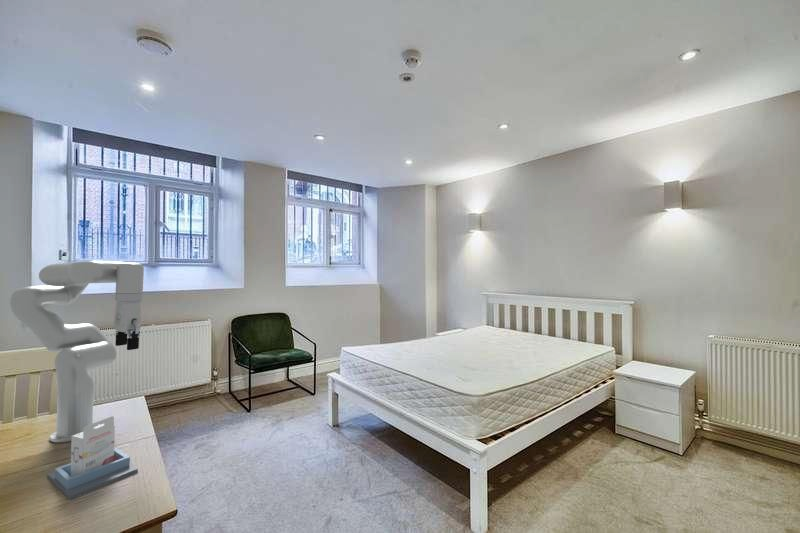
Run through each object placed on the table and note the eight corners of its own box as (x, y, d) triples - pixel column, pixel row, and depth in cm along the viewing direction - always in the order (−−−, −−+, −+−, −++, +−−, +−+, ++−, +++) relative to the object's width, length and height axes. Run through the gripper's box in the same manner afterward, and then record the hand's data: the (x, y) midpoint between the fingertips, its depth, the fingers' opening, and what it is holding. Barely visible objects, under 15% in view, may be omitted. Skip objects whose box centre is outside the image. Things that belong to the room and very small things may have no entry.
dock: (47, 477, 99) (47, 465, 99) (111, 454, 112) (112, 443, 112) (70, 499, 90) (70, 486, 90) (137, 471, 103) (137, 460, 103)
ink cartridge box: (102, 461, 106) (104, 413, 106) (114, 464, 105) (116, 415, 105) (69, 477, 98) (70, 425, 98) (81, 480, 96) (83, 427, 97)
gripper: (106, 296, 122) (103, 345, 122) (126, 300, 113) (123, 353, 113) (131, 295, 129) (129, 342, 129) (152, 299, 119) (150, 349, 119)
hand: (126, 347), depth 121 cm, fingers open, 9 cm apart
